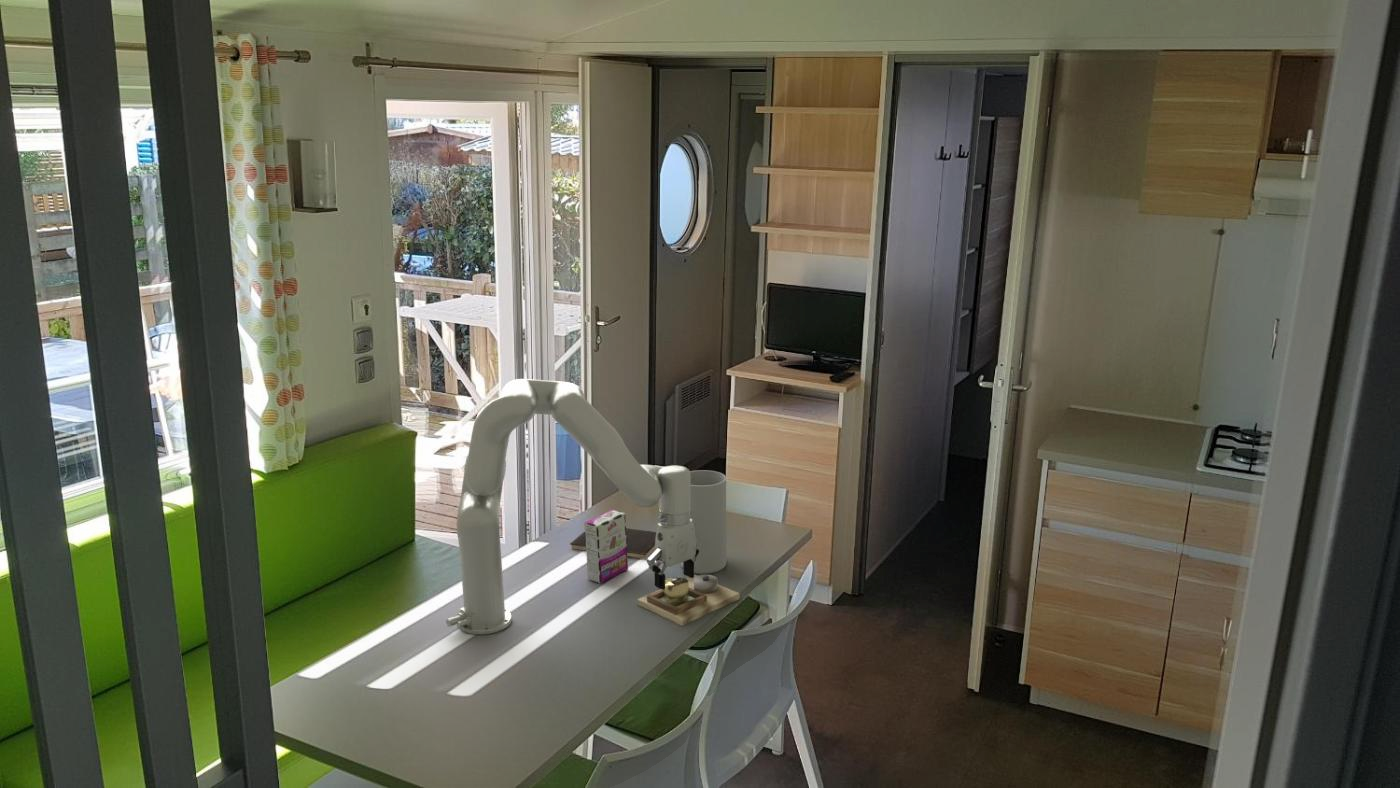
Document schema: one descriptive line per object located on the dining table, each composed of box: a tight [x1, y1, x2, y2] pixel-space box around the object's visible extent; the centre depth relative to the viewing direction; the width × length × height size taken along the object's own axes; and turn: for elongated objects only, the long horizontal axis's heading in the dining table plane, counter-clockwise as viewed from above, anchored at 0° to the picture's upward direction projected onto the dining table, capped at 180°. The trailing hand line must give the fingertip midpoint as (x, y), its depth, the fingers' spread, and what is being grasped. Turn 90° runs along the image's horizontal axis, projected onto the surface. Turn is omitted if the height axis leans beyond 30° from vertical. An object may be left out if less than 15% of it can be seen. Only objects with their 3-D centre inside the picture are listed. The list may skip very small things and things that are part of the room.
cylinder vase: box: [679, 469, 728, 575], centre depth 276 cm, size 12×12×25 cm
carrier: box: [637, 574, 740, 626], centre depth 257 cm, size 20×16×5 cm
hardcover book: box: [569, 527, 657, 560], centre depth 294 cm, size 16×23×2 cm
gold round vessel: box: [664, 576, 689, 606], centre depth 254 cm, size 6×6×6 cm
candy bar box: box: [584, 509, 629, 584], centre depth 272 cm, size 11×5×16 cm, turn 143°
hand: (674, 581), depth 254 cm, fingers open, 9 cm apart
